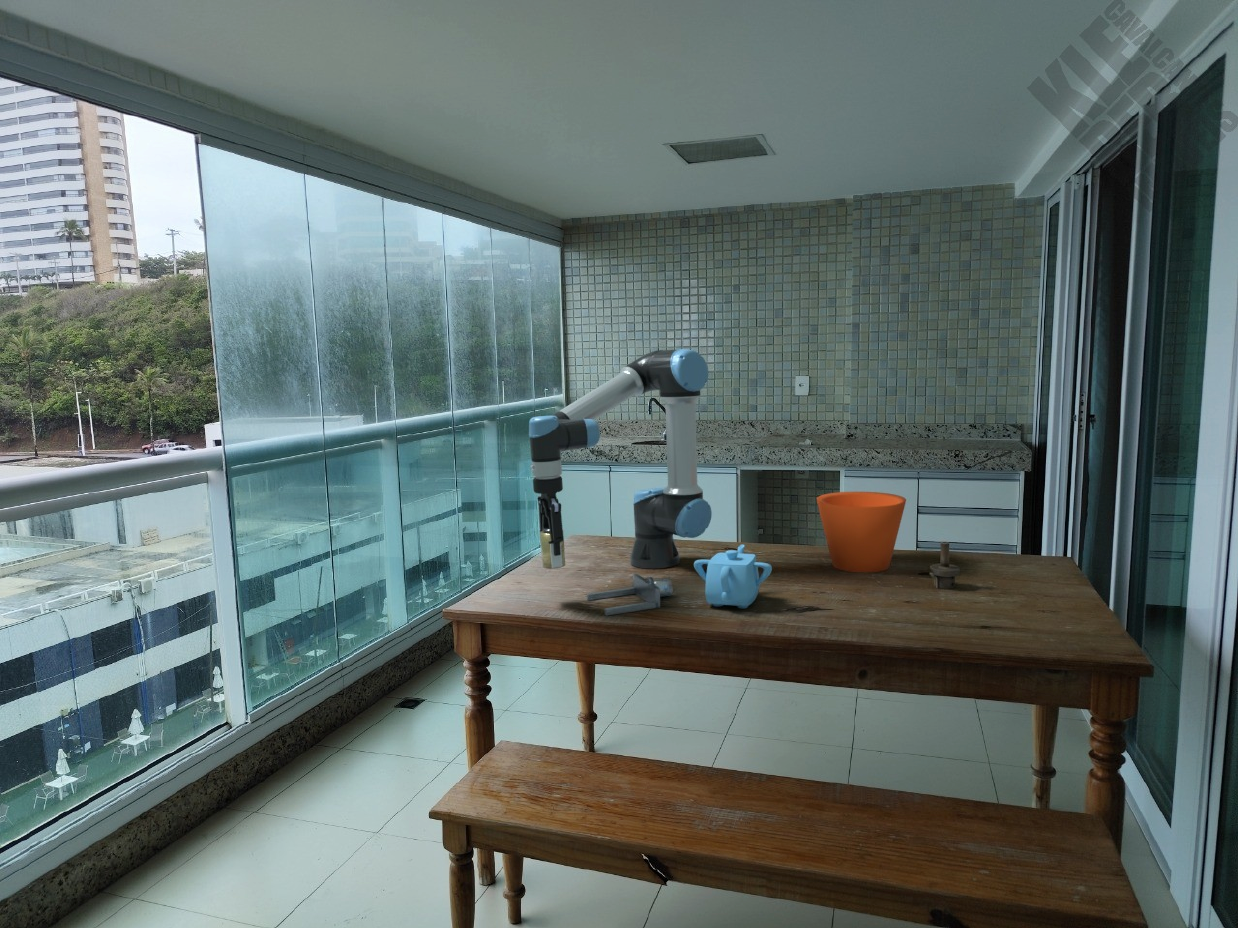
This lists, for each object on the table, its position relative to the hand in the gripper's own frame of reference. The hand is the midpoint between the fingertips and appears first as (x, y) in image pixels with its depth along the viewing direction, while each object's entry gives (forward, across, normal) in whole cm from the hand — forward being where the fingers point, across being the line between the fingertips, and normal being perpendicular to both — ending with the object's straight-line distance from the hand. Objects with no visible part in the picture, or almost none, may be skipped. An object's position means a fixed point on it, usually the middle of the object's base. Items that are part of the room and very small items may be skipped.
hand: (553, 563), depth 214 cm
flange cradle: (+11, +8, +19) cm, 23 cm away
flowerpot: (+13, +6, +91) cm, 92 cm away
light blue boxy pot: (+12, +19, +42) cm, 48 cm away
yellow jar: (0, 0, 0) cm, 1 cm away
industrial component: (+13, +34, +96) cm, 103 cm away
